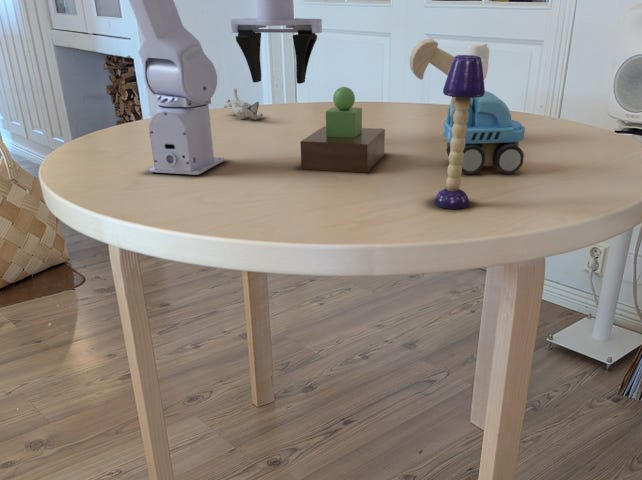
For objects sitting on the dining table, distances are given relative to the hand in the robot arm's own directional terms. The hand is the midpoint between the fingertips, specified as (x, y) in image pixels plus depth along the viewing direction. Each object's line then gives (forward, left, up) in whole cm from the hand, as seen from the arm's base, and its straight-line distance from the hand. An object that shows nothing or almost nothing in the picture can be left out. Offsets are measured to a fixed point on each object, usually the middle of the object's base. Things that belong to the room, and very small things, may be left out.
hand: (278, 82), depth 108 cm
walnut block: (-10, -14, -10) cm, 19 cm away
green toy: (-10, -14, -6) cm, 18 cm away
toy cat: (+22, +16, -10) cm, 29 cm away
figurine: (+12, -31, -10) cm, 34 cm away
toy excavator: (-10, -32, -10) cm, 35 cm away
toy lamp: (-29, -33, -10) cm, 45 cm away
